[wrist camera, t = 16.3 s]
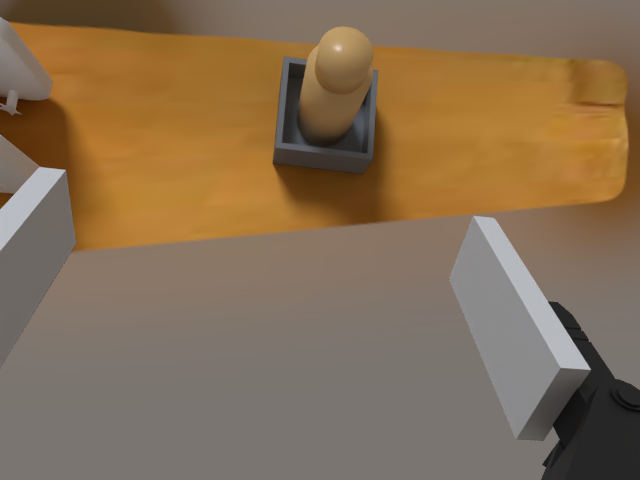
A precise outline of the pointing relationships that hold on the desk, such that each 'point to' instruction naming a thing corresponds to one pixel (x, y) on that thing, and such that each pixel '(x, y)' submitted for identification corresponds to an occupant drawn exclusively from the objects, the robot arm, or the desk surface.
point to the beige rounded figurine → (334, 85)
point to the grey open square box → (300, 152)
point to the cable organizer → (17, 83)
